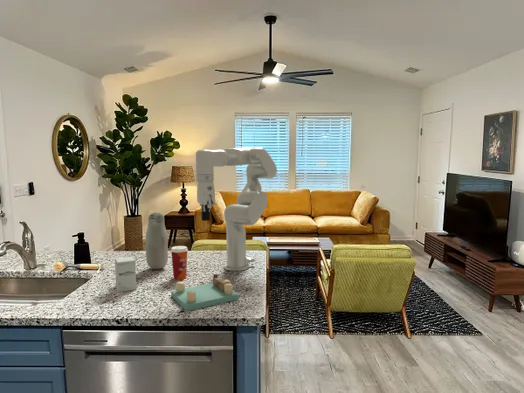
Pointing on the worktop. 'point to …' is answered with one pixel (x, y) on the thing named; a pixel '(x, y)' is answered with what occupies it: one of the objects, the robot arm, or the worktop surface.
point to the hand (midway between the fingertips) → (205, 220)
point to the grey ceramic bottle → (156, 242)
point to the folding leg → (219, 282)
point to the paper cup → (179, 261)
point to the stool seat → (202, 295)
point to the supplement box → (125, 274)
